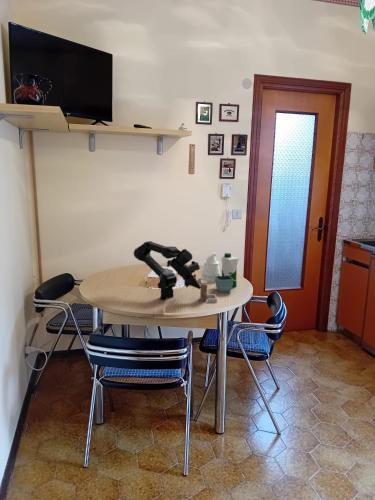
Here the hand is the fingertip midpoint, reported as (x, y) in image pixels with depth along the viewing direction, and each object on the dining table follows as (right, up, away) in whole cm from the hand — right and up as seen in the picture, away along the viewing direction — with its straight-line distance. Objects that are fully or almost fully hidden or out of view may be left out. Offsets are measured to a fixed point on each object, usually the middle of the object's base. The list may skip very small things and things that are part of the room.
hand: (200, 288), depth 202 cm
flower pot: (+14, -5, +19) cm, 24 cm away
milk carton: (+19, -2, +33) cm, 38 cm away
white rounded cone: (+8, +1, +46) cm, 47 cm away
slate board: (0, -7, +3) cm, 8 cm away
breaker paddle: (+2, -6, +2) cm, 7 cm away
